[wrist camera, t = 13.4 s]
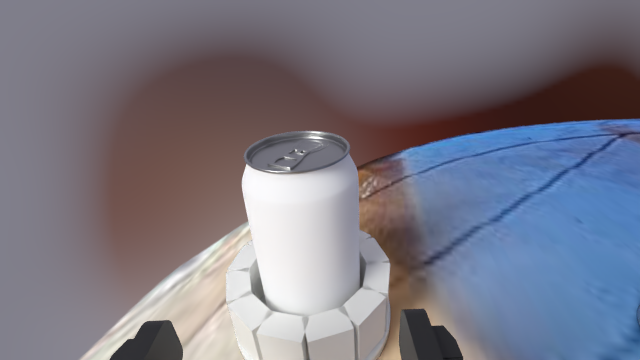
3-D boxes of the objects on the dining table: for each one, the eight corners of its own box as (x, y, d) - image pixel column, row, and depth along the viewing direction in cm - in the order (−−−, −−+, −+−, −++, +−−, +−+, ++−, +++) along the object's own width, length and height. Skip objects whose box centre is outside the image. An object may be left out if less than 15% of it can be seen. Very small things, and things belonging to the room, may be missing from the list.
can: (373, 287, 23) (375, 134, 17) (335, 365, 18) (321, 186, 12) (299, 262, 26) (281, 124, 20) (249, 323, 21) (207, 163, 15)
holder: (356, 248, 28) (355, 207, 26) (421, 360, 19) (428, 310, 17) (234, 277, 26) (223, 235, 24) (239, 420, 17) (221, 372, 15)
